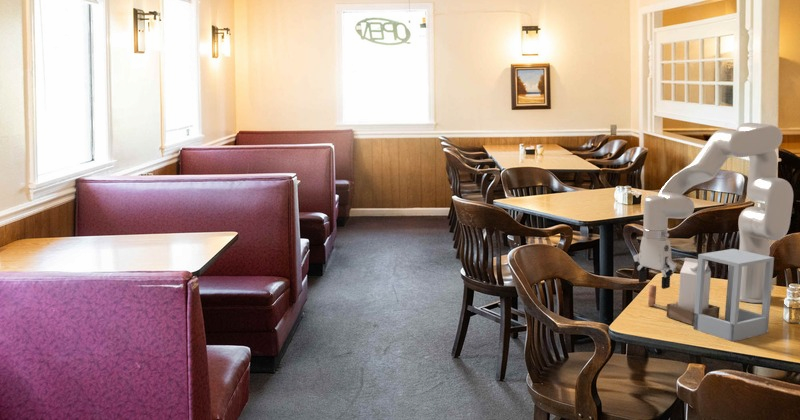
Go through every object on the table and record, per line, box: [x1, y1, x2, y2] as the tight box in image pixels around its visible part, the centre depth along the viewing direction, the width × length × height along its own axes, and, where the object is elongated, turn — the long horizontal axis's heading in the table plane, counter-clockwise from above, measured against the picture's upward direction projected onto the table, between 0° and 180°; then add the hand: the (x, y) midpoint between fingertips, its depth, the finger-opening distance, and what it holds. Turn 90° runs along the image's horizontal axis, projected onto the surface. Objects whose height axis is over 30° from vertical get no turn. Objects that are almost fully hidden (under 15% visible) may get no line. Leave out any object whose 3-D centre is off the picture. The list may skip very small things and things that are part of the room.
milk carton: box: [677, 257, 712, 311], centre depth 264 cm, size 7×7×19 cm
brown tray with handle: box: [647, 284, 721, 326], centre depth 270 cm, size 12×23×6 cm, turn 32°
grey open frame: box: [692, 248, 775, 342], centre depth 252 cm, size 16×14×23 cm
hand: (653, 284), depth 279 cm, fingers open, 9 cm apart
